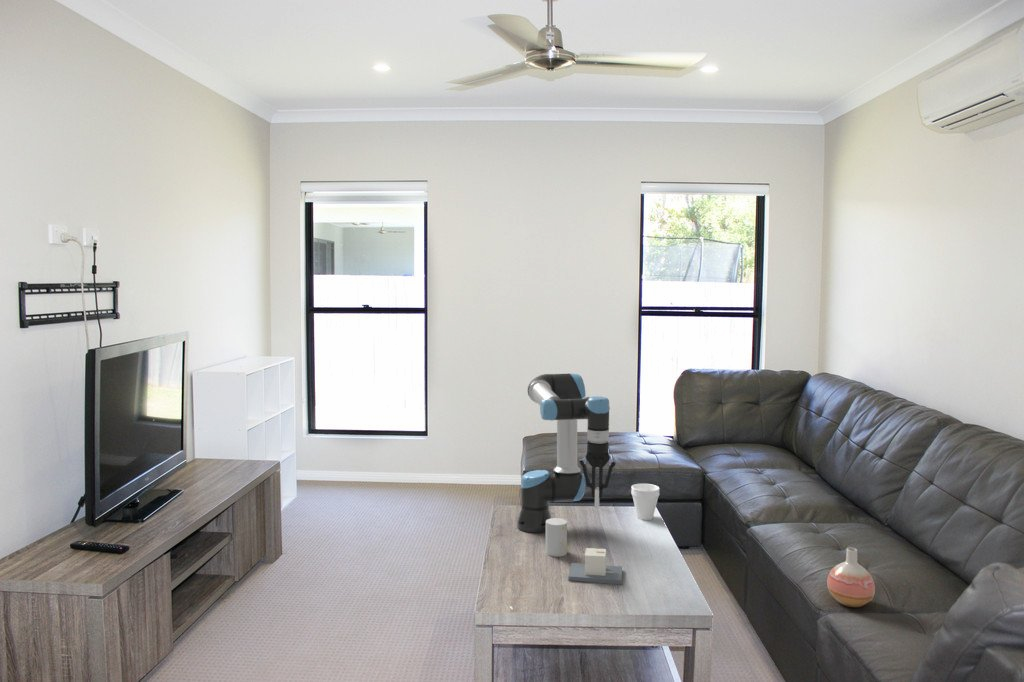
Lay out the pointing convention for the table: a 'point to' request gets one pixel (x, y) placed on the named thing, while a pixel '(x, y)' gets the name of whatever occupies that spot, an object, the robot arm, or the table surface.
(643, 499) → the cup
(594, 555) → the cream cube
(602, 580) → the shaft plate
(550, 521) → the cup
